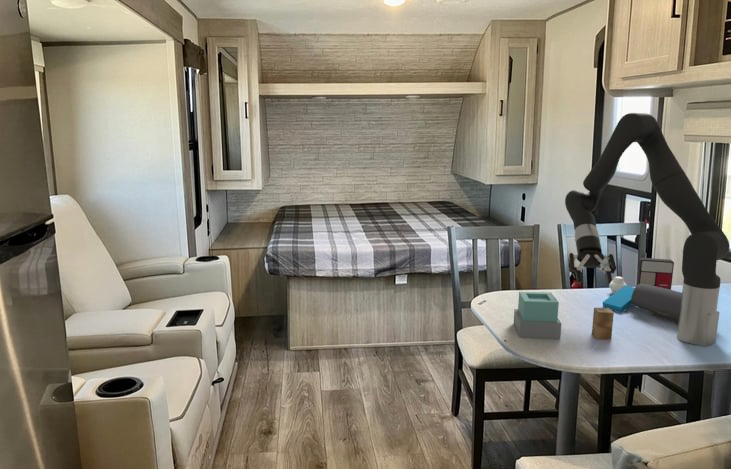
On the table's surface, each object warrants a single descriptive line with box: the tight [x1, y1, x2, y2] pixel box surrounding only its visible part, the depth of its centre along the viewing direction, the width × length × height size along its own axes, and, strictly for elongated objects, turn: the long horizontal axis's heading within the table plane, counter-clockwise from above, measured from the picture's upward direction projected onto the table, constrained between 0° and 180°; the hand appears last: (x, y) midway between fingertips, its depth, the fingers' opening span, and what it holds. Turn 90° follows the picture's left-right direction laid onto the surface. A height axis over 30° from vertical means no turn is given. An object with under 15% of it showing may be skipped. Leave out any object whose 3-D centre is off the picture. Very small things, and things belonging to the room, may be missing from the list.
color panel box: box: [636, 257, 675, 290], centre depth 202 cm, size 11×4×15 cm, turn 73°
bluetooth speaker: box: [631, 284, 682, 324], centre depth 181 cm, size 23×9×10 cm, turn 30°
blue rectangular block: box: [602, 285, 635, 313], centre depth 196 cm, size 7×7×18 cm
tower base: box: [513, 291, 562, 340], centre depth 170 cm, size 12×12×11 cm
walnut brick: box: [591, 307, 615, 340], centre depth 165 cm, size 4×4×8 cm
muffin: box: [609, 276, 628, 295], centre depth 209 cm, size 6×6×7 cm
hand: (594, 283), depth 174 cm, fingers open, 8 cm apart
